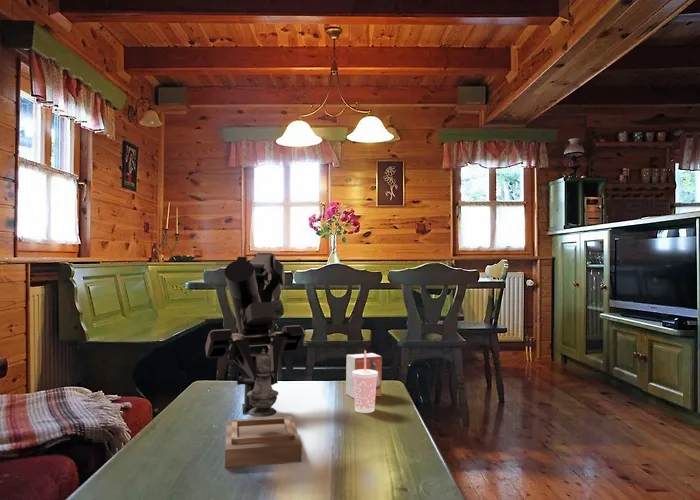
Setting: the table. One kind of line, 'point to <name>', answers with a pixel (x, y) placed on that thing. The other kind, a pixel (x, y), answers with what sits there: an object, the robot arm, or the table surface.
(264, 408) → the antique pepper shaker
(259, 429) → the walnut plinth
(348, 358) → the small box
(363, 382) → the beverage cup
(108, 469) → the table surface
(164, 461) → the table surface
